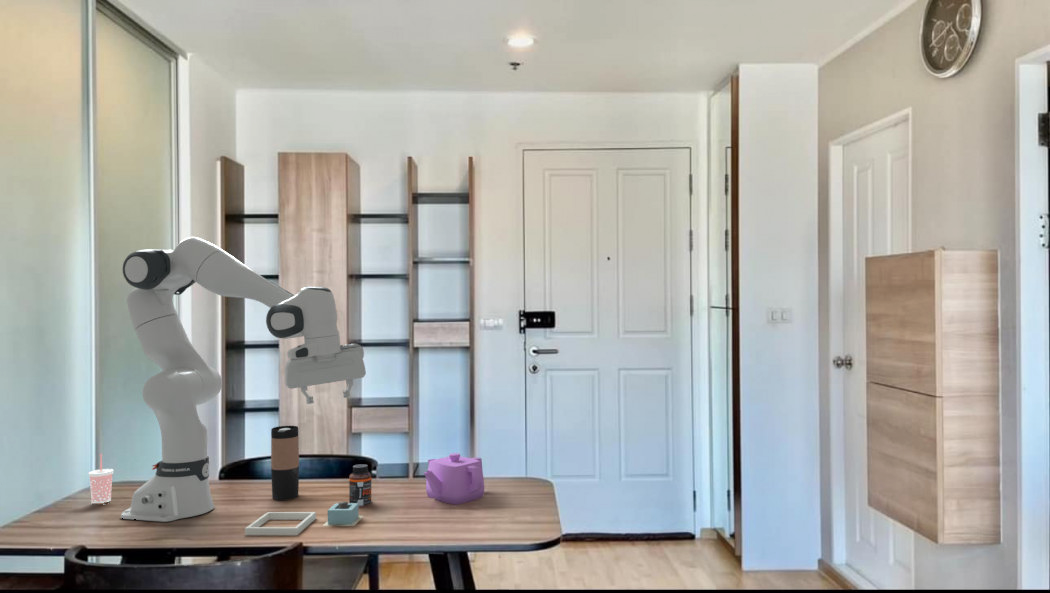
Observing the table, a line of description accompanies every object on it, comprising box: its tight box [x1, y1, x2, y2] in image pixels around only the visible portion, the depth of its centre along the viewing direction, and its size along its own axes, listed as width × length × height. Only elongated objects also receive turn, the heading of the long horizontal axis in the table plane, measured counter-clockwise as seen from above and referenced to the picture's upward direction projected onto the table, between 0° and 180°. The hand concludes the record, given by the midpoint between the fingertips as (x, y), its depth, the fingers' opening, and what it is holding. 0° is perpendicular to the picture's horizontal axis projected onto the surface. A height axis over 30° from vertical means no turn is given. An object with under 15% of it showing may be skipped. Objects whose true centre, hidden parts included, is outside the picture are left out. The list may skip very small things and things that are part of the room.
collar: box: [327, 502, 360, 524], centre depth 171 cm, size 6×7×4 cm
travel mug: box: [270, 425, 300, 501], centre depth 197 cm, size 8×8×20 cm
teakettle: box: [423, 452, 485, 506], centre depth 195 cm, size 17×17×12 cm
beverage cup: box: [88, 453, 114, 504], centre depth 193 cm, size 6×6×14 cm
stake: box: [322, 500, 364, 527], centre depth 171 cm, size 8×8×6 cm
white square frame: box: [244, 511, 317, 536], centre depth 167 cm, size 13×13×3 cm
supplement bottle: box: [348, 463, 372, 507], centre depth 186 cm, size 6×6×11 cm
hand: (328, 400), depth 177 cm, fingers open, 8 cm apart
